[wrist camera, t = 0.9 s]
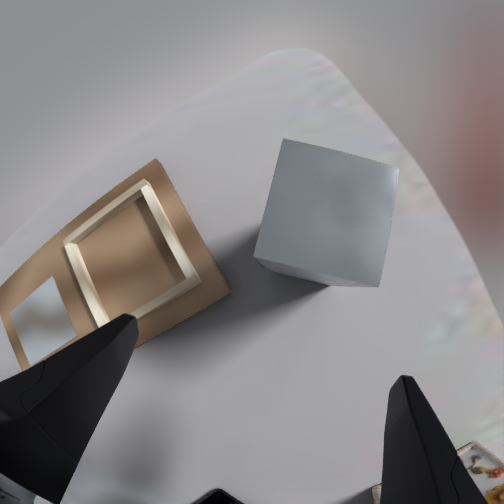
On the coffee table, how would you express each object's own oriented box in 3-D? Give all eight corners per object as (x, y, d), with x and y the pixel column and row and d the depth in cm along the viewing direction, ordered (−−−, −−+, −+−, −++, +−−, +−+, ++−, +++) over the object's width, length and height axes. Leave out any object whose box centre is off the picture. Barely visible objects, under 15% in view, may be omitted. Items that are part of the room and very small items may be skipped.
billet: (329, 285, 23) (378, 287, 11) (270, 271, 24) (252, 256, 11) (343, 227, 24) (398, 168, 11) (285, 213, 24) (283, 138, 11)
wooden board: (232, 292, 24) (226, 293, 22) (43, 397, 25) (29, 403, 23) (161, 163, 26) (150, 152, 23) (1, 293, 27) (-14, 293, 24)
